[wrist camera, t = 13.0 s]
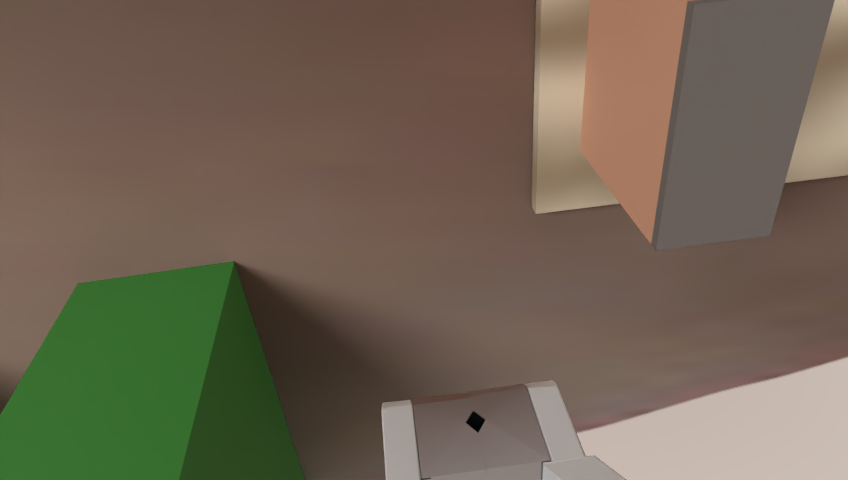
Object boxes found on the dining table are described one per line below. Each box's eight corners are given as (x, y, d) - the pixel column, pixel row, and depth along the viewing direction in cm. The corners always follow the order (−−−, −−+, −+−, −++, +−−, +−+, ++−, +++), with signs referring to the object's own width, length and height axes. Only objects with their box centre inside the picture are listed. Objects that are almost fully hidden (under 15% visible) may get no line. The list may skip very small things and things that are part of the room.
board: (539, -134, 22) (555, -131, 20) (1064, -184, 23) (1121, -185, 22) (531, 205, 30) (542, 227, 28) (926, 156, 31) (960, 174, 29)
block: (593, -44, 23) (694, 4, 17) (696, -55, 23) (837, -12, 17) (580, 151, 28) (655, 250, 21) (667, 140, 28) (770, 236, 21)
